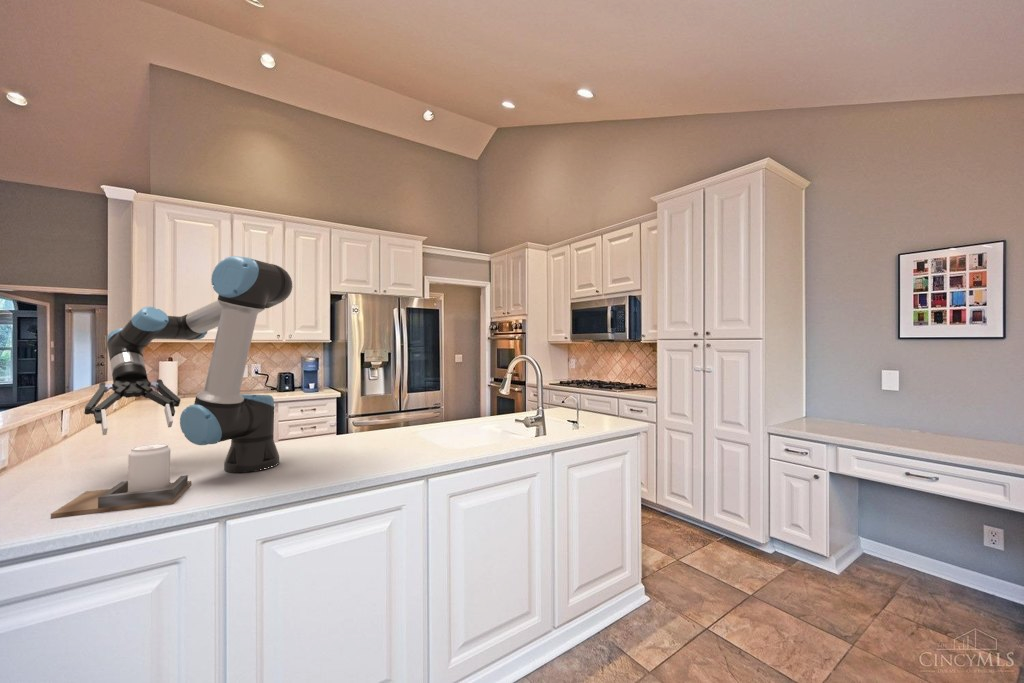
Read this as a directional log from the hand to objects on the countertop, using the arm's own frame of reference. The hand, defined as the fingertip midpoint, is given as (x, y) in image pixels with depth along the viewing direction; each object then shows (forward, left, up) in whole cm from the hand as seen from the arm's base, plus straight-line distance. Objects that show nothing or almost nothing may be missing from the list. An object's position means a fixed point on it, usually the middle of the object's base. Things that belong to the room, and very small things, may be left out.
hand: (139, 428), depth 117 cm
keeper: (-2, +11, -16) cm, 20 cm away
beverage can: (-6, +12, -15) cm, 20 cm away
